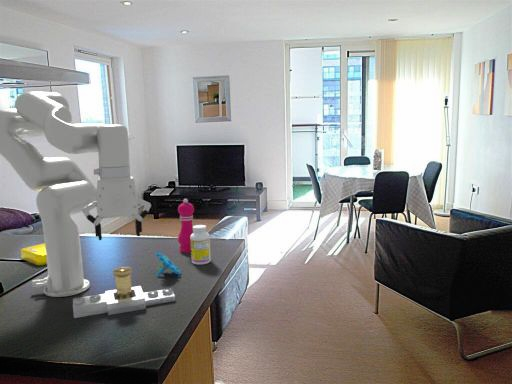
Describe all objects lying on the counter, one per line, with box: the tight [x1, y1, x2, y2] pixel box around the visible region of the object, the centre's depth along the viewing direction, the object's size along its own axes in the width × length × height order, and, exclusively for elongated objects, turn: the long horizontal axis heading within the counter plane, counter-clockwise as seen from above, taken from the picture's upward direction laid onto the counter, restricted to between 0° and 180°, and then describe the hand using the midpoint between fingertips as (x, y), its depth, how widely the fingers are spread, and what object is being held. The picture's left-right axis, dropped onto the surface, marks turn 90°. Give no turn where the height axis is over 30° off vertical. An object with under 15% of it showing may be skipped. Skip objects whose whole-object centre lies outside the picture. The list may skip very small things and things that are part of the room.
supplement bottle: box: [190, 224, 211, 266], centre depth 157 cm, size 7×7×13 cm
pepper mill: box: [177, 198, 195, 254], centre depth 170 cm, size 7×7×20 cm
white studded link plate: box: [72, 285, 176, 319], centre depth 123 cm, size 26×10×4 cm, turn 111°
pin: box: [112, 266, 133, 300], centre depth 122 cm, size 5×5×10 cm
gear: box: [155, 251, 182, 277], centre depth 145 cm, size 11×6×10 cm
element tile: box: [20, 242, 47, 266], centre depth 167 cm, size 15×15×5 cm
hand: (119, 236), depth 120 cm, fingers open, 9 cm apart
